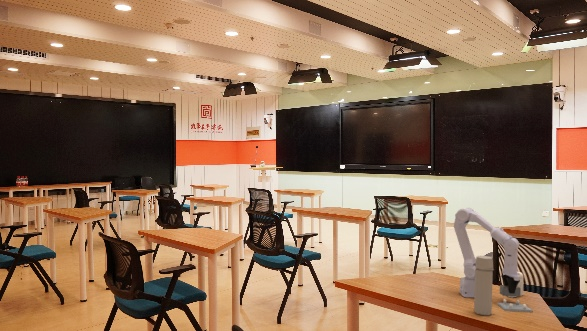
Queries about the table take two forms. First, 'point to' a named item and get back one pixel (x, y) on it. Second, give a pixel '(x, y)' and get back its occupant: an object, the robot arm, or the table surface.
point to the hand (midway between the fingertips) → (509, 291)
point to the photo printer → (520, 284)
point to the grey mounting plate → (514, 306)
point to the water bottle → (483, 285)
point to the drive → (505, 291)
